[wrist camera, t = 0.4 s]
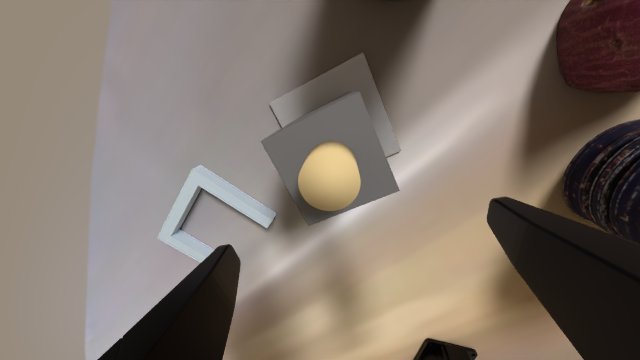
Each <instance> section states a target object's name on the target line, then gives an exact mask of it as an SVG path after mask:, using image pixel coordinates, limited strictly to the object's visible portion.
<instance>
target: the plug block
mask: <svg viewBox="0 0 640 360" xmlns="http://www.w3.org/2000/svg"><path fill="white" fill-rule="evenodd" d="M261 143H262V145H263V146H264V148H265V150H266V152H267V154H268V155H269V157H270V159H271V161H272V162H273V164H274V166H275V168H276V169H277V171H278V173H279V175H280V177H281V178H282V180H283V182H284V184H285V185H286V187H287V189H288V191H289V192H290V194H291V196H292V198H293V199H294V201H295V203H296V205H297V207H298V208H299V210H300V212H301V214H302V215H303V217H304V219H305V221H306V222H307V224H308V226H309V225H312V224H315V223H317V222H320V221H322V220H325V219H328V218H330V217H333V216H335V215H338V214H341V213H343V212H346V211H348V210H351V209H353V208H356V207H359V206H361V205H364V204H366V203H369V202H372V201H374V200H377V199H379V198H382V197H385V196H387V195H390V194H392V193H395V192H397V191H400V190H399V188H398V186H397V183H396V181H395V178H394V176H393V173H392V171H391V168H390V166H389V163H388V161H387V158H386V156H385V154H384V151H383V149H382V146H381V144H380V141H379V139H378V136H377V134H376V131H375V129H374V126H373V124H372V122H371V119H370V117H369V114H368V112H367V109H366V107H365V104H364V102H363V99H362V97H361V94H360V92H347V93H345V94H343V95H341V96H339V97H337V98H335V99H333V100H331V101H329V102H328V103H326V104H324V105H322V106H320V107H318V108H316V109H314V110H312V111H310V112H308V113H306V114H304V115H302V116H300V117H299V118H297V119H296V120H294V121H292V122H291V123H289V124H288V125H286V126H284V127H283V128H281V129H280V130H278V131H276V132H275V133H273V134H272V135H270V136H269V137H267V138H265V139H264V140H262V141H261Z"/></svg>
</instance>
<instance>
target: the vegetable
mask: <svg viewBox="0 0 640 360" xmlns="http://www.w3.org/2000/svg"><path fill="white" fill-rule="evenodd" d="M557 49H558V50H557V51H558V59H559V67H560V72H561V74H562V75H563V76H564V78H565V80H566V83H567V85H572V86H573V87H575V88H577V89H581V90H586V91H592V92H636V91H640V0H571V1H570V2H569V4H568V5H567V7H566V8H565V10H564V12H563V14H562V17H561V19H560V23H559V26H558V33H557Z"/></svg>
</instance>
